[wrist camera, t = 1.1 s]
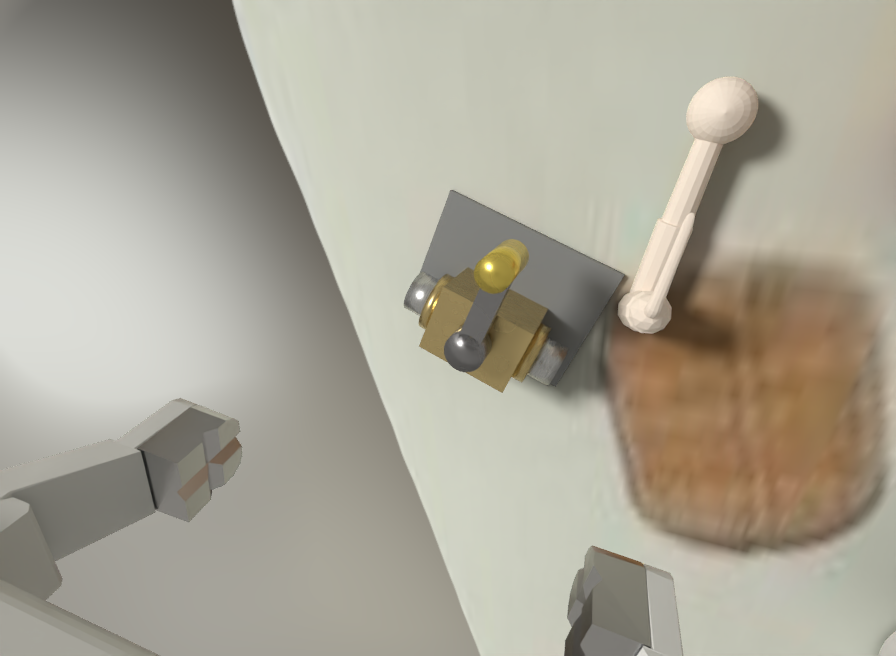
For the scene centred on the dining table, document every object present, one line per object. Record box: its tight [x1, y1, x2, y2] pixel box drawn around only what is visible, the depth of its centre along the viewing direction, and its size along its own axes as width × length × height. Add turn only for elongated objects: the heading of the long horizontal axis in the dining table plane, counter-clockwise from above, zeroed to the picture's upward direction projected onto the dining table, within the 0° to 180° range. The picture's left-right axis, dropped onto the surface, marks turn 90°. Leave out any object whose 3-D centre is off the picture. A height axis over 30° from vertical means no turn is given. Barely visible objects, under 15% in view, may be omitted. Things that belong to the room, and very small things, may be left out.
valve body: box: [404, 267, 568, 393], centre depth 41 cm, size 14×6×6 cm, turn 68°
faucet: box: [618, 76, 758, 334], centre depth 33 cm, size 4×18×10 cm, turn 169°
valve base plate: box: [420, 190, 624, 387], centre depth 42 cm, size 16×12×1 cm
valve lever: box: [444, 239, 529, 372], centre depth 34 cm, size 11×3×6 cm, turn 158°
